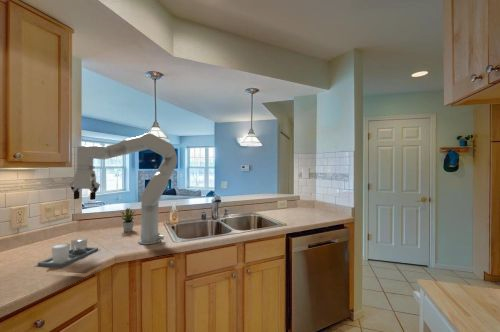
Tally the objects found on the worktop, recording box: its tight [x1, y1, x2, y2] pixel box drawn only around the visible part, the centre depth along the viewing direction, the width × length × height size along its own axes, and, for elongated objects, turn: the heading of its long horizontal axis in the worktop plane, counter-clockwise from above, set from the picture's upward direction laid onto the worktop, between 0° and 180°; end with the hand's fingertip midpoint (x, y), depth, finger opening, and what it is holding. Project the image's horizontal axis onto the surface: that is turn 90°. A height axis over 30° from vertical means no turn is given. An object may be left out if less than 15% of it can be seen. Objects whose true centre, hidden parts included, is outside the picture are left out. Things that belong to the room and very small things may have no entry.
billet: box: [70, 238, 88, 255], centre depth 126 cm, size 7×7×6 cm
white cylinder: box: [51, 243, 71, 263], centre depth 115 cm, size 7×7×7 cm
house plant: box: [117, 207, 136, 233], centre depth 175 cm, size 14×14×16 cm
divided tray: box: [34, 246, 101, 269], centre depth 121 cm, size 14×24×2 cm, turn 173°
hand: (84, 199), depth 139 cm, fingers open, 9 cm apart
